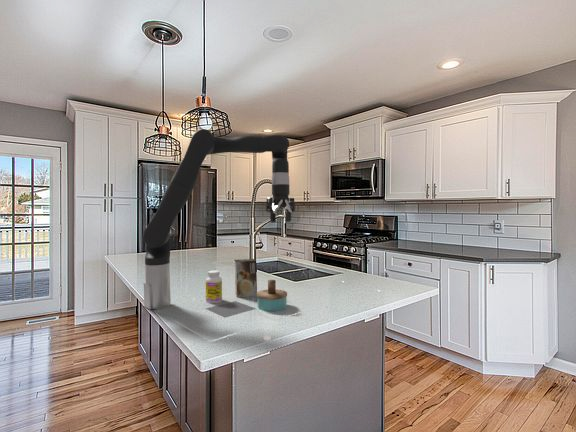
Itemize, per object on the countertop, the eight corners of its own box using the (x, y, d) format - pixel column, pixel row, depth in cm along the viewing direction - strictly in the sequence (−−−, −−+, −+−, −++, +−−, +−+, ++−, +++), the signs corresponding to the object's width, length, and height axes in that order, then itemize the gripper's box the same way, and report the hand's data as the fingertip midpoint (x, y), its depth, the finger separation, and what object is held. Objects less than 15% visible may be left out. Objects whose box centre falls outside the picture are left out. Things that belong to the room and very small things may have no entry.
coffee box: (254, 293, 150) (254, 258, 150) (257, 296, 144) (256, 260, 144) (234, 294, 148) (234, 259, 147) (236, 298, 142) (235, 261, 141)
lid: (270, 301, 120) (270, 285, 119) (250, 295, 128) (250, 280, 128) (293, 295, 128) (293, 280, 128) (273, 289, 137) (273, 275, 136)
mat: (224, 318, 116) (224, 317, 116) (205, 309, 127) (205, 308, 127) (256, 309, 126) (256, 308, 126) (235, 302, 136) (235, 301, 136)
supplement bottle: (205, 304, 133) (204, 273, 133) (206, 300, 140) (205, 270, 139) (222, 303, 135) (221, 272, 134) (222, 299, 141) (221, 269, 141)
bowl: (270, 314, 121) (270, 301, 120) (252, 307, 129) (252, 295, 128) (291, 307, 128) (291, 295, 128) (273, 301, 136) (273, 290, 136)
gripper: (273, 182, 131) (274, 223, 132) (298, 184, 141) (299, 221, 142) (262, 183, 137) (262, 222, 137) (286, 185, 147) (287, 221, 147)
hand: (281, 222), depth 139 cm, fingers open, 8 cm apart
